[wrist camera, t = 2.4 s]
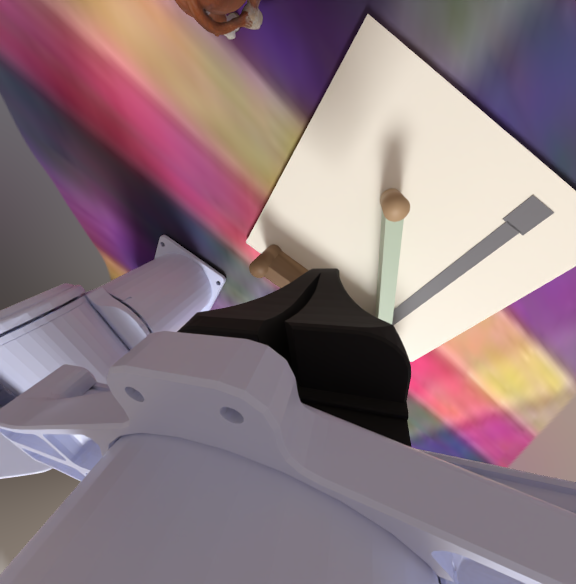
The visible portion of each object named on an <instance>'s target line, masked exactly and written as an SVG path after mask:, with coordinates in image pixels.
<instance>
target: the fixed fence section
mask: <svg viewBox="0 0 576 584" xmlns="http://www.w3.org/2000/svg"><path fill="white" fill-rule="evenodd" d="M249 270H250V272H251V274H252V275H253V276H255V277H257V278H262V277H266V278H267V279H268V280H270V281H271V282H273V283H274V284H275V285H277V286H278V287H280V288H282V287H284V286H286V285H287V284H289V283H291V282H292V281H294V280H295V279H297V278H298V277H300V276H301V275H303V274H304V273H306V272H307V271H309V270H307V269H306V268H305V267H303V266H302V265H301V264H299V263H298V262H296V261H295V260H294V259H292V258H291V257H290V256H288V255H287V254H285V253H284V252H283V251H282V250H281V248H280V247H279V246H278V245H275V244H272V245H270V246H269V247H268V248H267V249H265V250H264V251H263V252H262V253H261V254H260V255H259V256H258V257H257V258H256V259H255V260H254V261H253V262H252V263H251V264H250V266H249Z"/></svg>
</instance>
